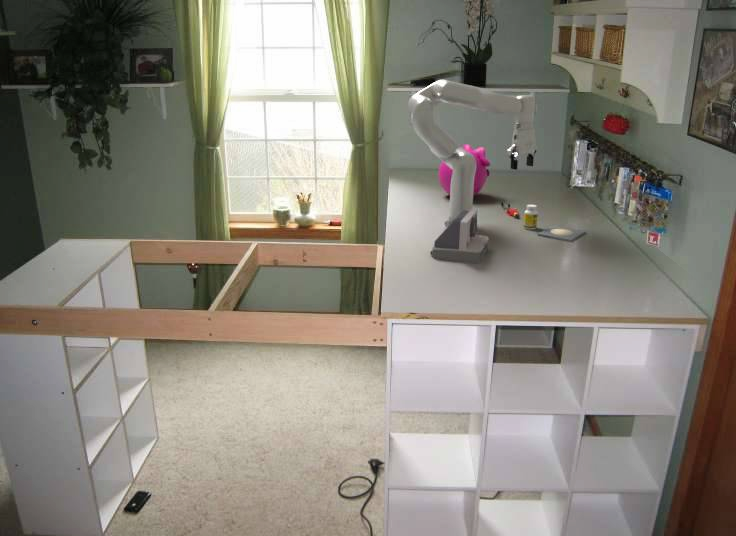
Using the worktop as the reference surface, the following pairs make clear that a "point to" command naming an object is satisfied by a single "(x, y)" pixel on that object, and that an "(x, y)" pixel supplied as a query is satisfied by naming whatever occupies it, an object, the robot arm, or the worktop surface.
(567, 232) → the card
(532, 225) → the supplement bottle
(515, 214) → the person figure
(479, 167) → the figurine
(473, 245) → the grey angle bracket
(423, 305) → the worktop surface
